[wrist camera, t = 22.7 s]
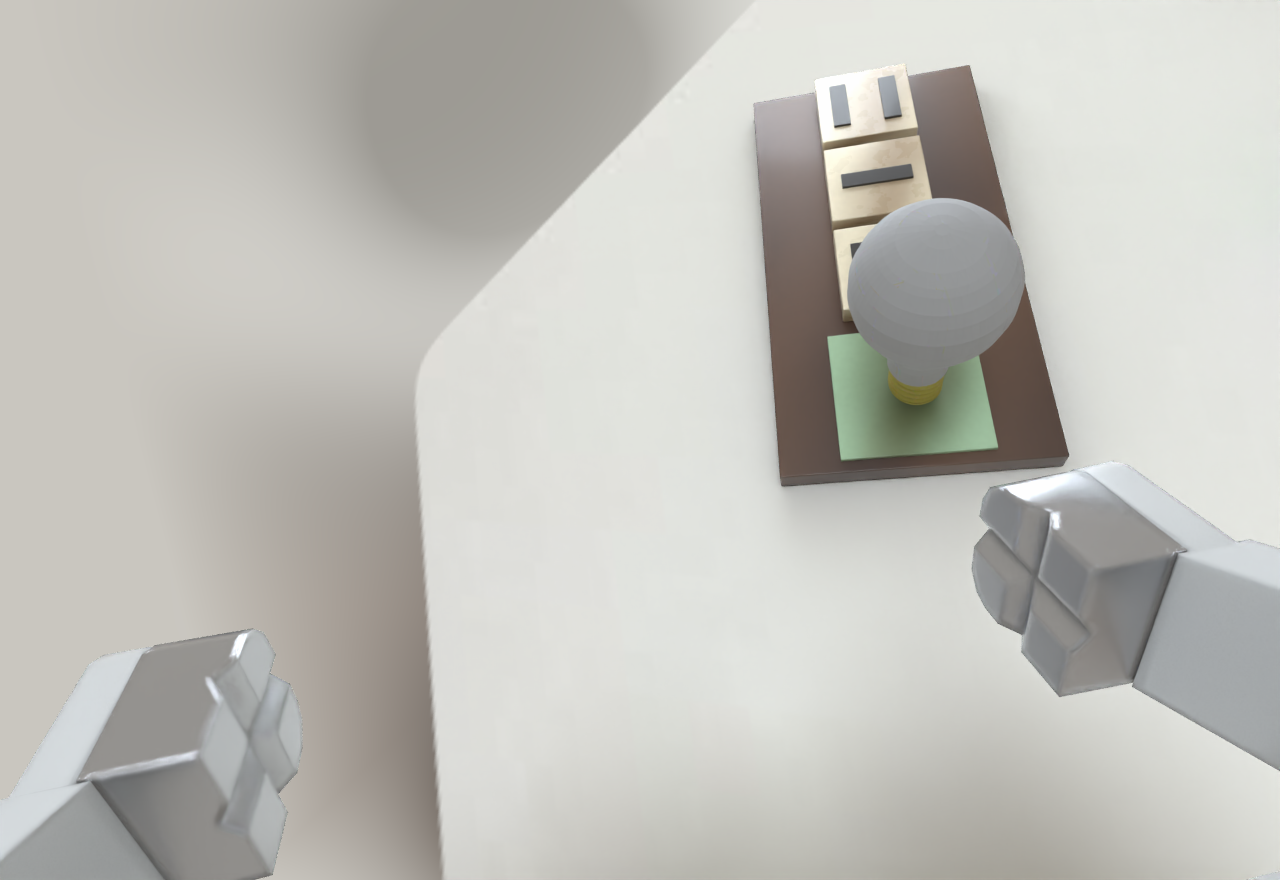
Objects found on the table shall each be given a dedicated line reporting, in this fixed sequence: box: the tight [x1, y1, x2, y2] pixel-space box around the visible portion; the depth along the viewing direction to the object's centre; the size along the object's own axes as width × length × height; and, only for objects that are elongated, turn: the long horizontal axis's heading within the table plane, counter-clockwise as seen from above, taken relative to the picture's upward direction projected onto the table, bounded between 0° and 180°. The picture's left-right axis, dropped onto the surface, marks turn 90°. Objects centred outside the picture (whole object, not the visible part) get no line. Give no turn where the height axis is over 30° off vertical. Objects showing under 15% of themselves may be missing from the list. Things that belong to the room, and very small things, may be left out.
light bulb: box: [847, 198, 1025, 405], centre depth 27 cm, size 6×6×10 cm
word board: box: [754, 64, 1069, 486], centre depth 35 cm, size 11×22×2 cm, turn 179°
